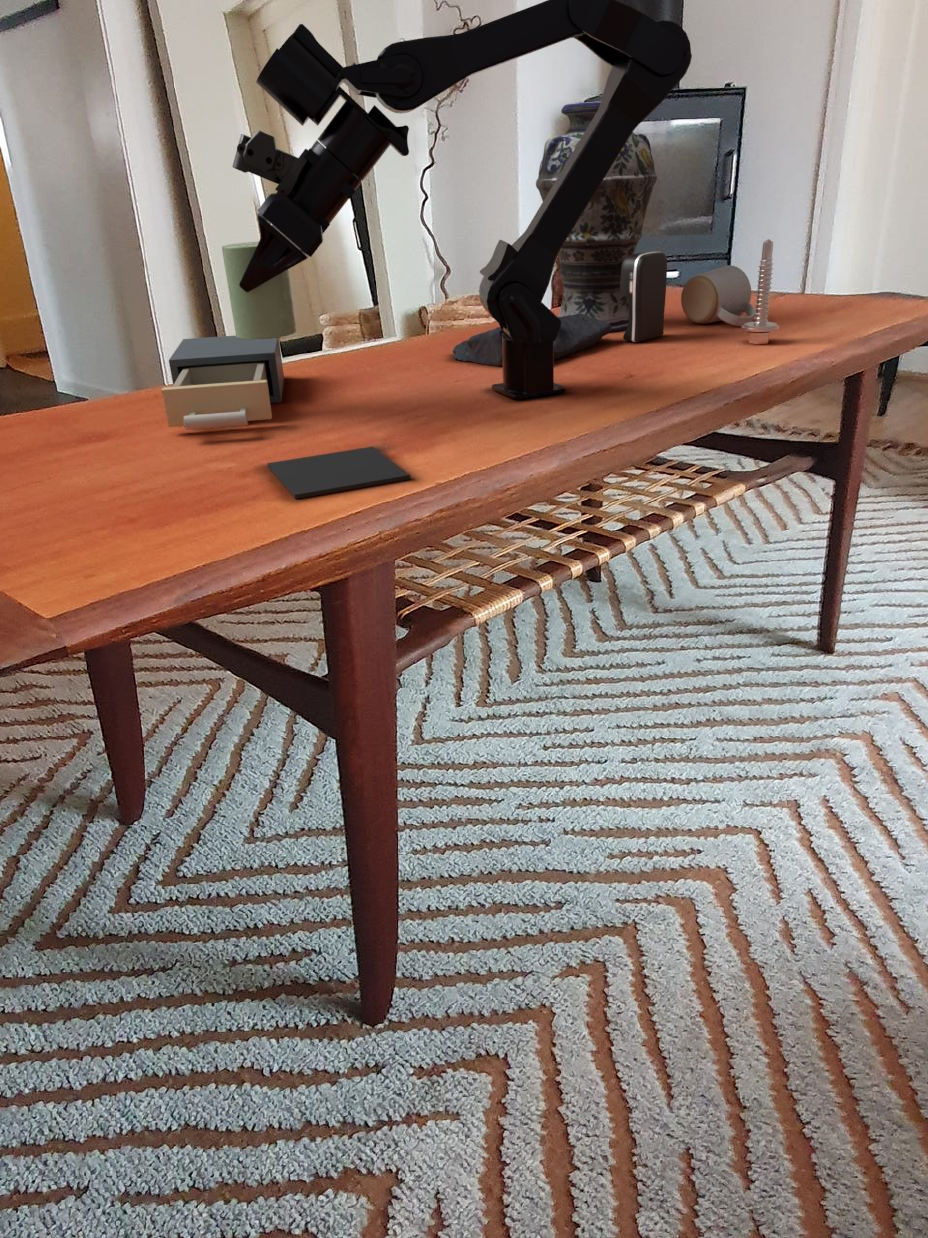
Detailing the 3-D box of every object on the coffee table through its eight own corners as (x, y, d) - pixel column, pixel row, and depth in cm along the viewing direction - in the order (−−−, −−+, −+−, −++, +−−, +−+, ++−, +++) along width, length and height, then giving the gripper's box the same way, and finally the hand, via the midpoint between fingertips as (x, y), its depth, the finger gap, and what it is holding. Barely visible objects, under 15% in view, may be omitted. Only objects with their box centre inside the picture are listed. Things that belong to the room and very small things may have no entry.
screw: (738, 345, 125) (742, 338, 129) (776, 346, 123) (778, 339, 127) (747, 240, 119) (750, 237, 123) (787, 240, 117) (789, 236, 121)
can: (303, 334, 98) (291, 242, 94) (242, 342, 96) (228, 248, 92) (288, 326, 104) (276, 239, 100) (230, 333, 102) (216, 244, 98)
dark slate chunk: (630, 343, 130) (631, 307, 127) (526, 371, 116) (525, 331, 114) (545, 333, 139) (545, 299, 137) (440, 358, 126) (438, 321, 123)
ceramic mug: (675, 322, 143) (679, 269, 139) (709, 315, 147) (714, 263, 143) (732, 330, 135) (737, 274, 132) (766, 323, 140) (772, 268, 136)
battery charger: (642, 333, 136) (645, 249, 131) (665, 335, 133) (669, 250, 128) (614, 341, 131) (617, 254, 126) (637, 343, 129) (640, 255, 124)
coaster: (410, 479, 79) (409, 474, 79) (295, 499, 76) (294, 494, 76) (372, 450, 88) (372, 446, 87) (267, 467, 84) (267, 463, 84)
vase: (519, 324, 147) (515, 108, 134) (616, 313, 153) (622, 104, 139) (566, 340, 133) (567, 100, 120) (671, 328, 139) (683, 96, 125)
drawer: (270, 428, 93) (265, 390, 91) (163, 437, 92) (155, 398, 90) (275, 392, 107) (270, 358, 106) (183, 399, 106) (177, 365, 105)
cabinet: (281, 402, 107) (274, 352, 104) (177, 410, 105) (168, 359, 103) (284, 377, 119) (278, 332, 116) (190, 384, 117) (183, 338, 115)
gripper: (279, 104, 99) (192, 224, 103) (267, 93, 82) (164, 236, 86) (361, 181, 103) (275, 293, 107) (365, 186, 86) (263, 318, 91)
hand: (245, 284), depth 98 cm, fingers closed on can, 6 cm apart
